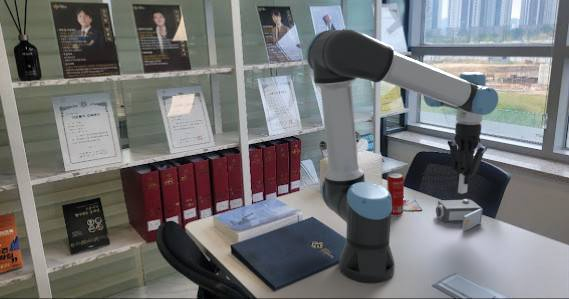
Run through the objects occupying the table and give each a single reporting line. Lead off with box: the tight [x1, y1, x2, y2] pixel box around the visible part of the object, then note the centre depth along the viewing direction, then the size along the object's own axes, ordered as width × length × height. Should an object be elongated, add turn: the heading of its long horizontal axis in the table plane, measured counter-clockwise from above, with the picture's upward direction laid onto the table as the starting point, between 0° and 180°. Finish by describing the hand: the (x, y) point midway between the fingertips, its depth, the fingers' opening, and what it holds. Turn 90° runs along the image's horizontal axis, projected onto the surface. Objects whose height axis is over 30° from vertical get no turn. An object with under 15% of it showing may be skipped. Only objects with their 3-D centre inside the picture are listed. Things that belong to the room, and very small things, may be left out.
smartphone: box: [403, 199, 423, 212], centre depth 165 cm, size 8×1×15 cm
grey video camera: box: [435, 198, 482, 224], centre depth 151 cm, size 14×8×6 cm, turn 93°
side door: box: [461, 207, 483, 232], centre depth 144 cm, size 11×1×5 cm, turn 128°
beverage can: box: [386, 172, 405, 217], centre depth 154 cm, size 6×6×15 cm
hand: (462, 192), depth 141 cm, fingers closed
